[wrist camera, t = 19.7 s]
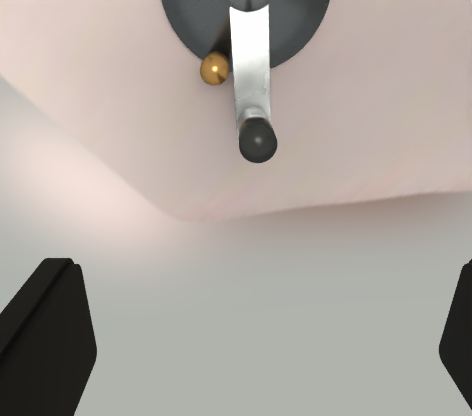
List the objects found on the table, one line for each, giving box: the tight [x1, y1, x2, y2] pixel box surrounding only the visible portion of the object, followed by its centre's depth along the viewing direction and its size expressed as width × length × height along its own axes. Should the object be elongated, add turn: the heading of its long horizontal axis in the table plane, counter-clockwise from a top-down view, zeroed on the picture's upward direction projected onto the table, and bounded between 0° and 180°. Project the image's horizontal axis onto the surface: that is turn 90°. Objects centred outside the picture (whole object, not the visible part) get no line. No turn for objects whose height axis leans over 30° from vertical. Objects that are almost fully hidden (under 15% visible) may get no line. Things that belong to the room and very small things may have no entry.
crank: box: [224, 0, 277, 163], centre depth 24 cm, size 12×4×7 cm, turn 3°
